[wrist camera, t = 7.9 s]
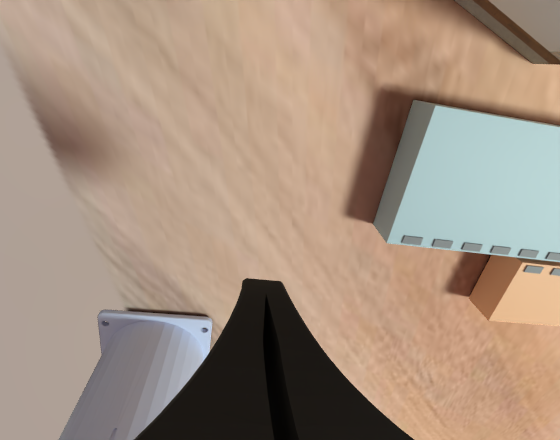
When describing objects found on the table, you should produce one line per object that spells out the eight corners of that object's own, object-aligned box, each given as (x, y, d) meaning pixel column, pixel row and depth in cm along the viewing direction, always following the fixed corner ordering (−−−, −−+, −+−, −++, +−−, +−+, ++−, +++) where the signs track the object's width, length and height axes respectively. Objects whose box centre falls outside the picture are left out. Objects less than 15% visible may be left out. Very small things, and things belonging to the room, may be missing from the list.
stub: (578, 308, 27) (608, 330, 24) (468, 298, 25) (489, 321, 23) (615, 257, 24) (651, 277, 22) (497, 243, 23) (523, 263, 21)
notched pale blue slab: (541, 244, 24) (573, 264, 21) (373, 224, 22) (387, 243, 19) (607, 133, 20) (653, 143, 18) (413, 99, 18) (436, 105, 16)
